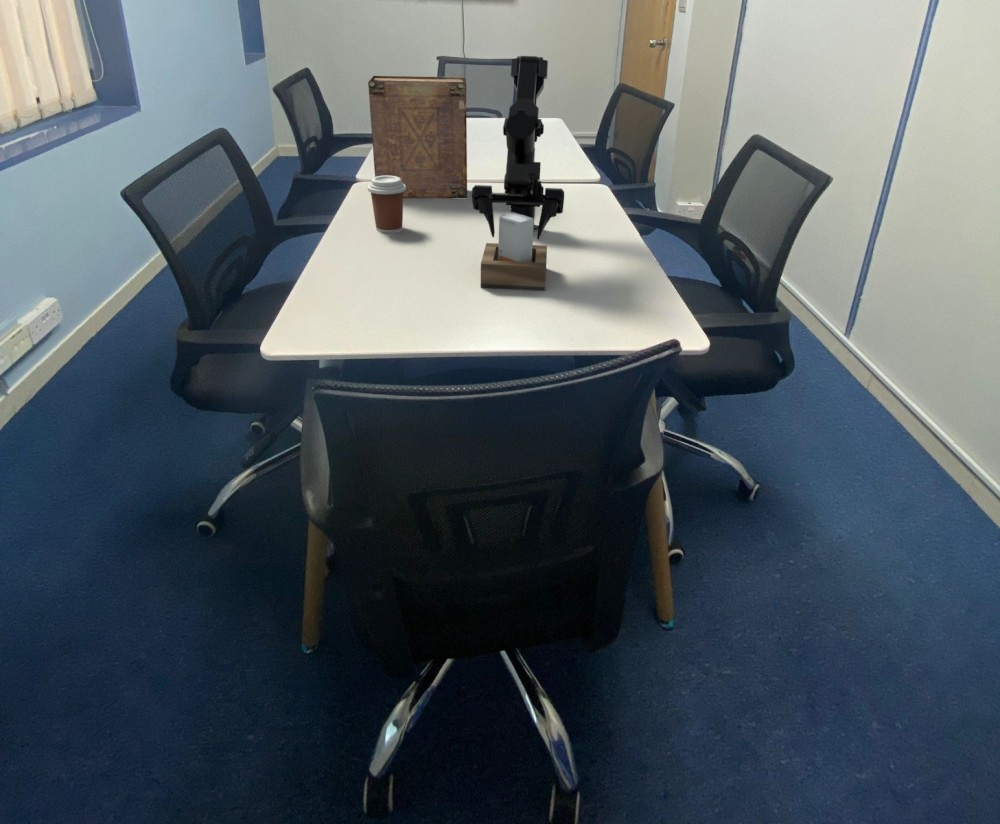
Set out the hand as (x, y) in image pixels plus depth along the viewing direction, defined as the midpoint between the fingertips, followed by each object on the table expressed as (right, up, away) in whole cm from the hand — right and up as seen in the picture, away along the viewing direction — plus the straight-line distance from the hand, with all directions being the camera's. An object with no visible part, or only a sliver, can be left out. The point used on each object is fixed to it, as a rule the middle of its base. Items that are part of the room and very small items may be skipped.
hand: (515, 237), depth 146 cm
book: (-25, +27, +59) cm, 70 cm away
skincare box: (0, -7, +5) cm, 8 cm away
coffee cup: (-30, +10, +31) cm, 45 cm away
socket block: (0, -7, +5) cm, 9 cm away
